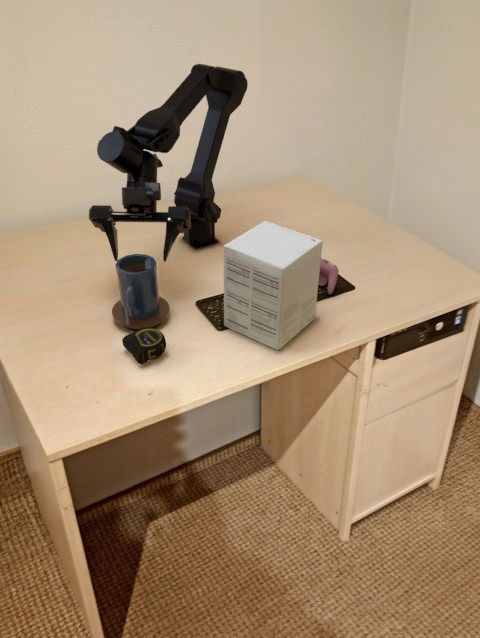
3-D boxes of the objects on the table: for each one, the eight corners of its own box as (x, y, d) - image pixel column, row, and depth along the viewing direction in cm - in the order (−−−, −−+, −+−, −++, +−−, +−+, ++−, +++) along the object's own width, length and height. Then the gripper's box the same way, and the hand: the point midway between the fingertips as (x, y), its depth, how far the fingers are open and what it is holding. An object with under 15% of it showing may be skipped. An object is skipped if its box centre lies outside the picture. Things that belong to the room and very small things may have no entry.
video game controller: (335, 294, 131) (342, 261, 130) (332, 295, 127) (338, 262, 125) (291, 285, 133) (297, 253, 132) (286, 286, 129) (293, 253, 128)
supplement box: (261, 296, 127) (264, 219, 116) (316, 319, 121) (324, 239, 110) (222, 326, 118) (221, 245, 107) (278, 351, 112) (283, 269, 101)
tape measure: (122, 350, 111) (119, 333, 109) (156, 337, 114) (154, 321, 112) (138, 370, 107) (136, 353, 104) (173, 357, 110) (172, 340, 107)
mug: (121, 294, 123) (114, 247, 116) (175, 299, 122) (171, 251, 116) (103, 329, 114) (95, 279, 107) (161, 334, 113) (157, 284, 106)
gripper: (82, 164, 110) (80, 248, 108) (187, 165, 111) (186, 249, 109) (96, 187, 121) (94, 264, 119) (191, 189, 122) (190, 265, 120)
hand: (140, 260), depth 116 cm, fingers open, 9 cm apart
